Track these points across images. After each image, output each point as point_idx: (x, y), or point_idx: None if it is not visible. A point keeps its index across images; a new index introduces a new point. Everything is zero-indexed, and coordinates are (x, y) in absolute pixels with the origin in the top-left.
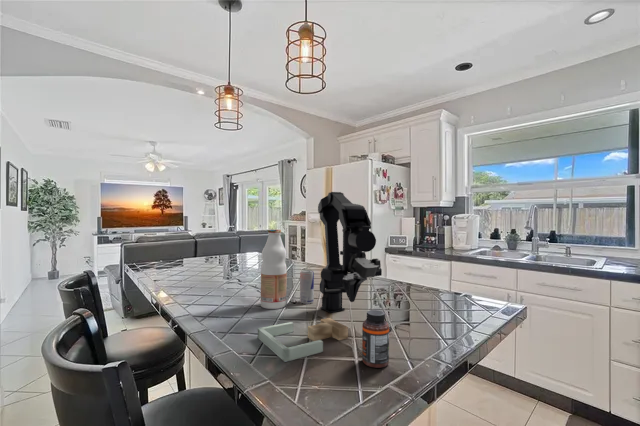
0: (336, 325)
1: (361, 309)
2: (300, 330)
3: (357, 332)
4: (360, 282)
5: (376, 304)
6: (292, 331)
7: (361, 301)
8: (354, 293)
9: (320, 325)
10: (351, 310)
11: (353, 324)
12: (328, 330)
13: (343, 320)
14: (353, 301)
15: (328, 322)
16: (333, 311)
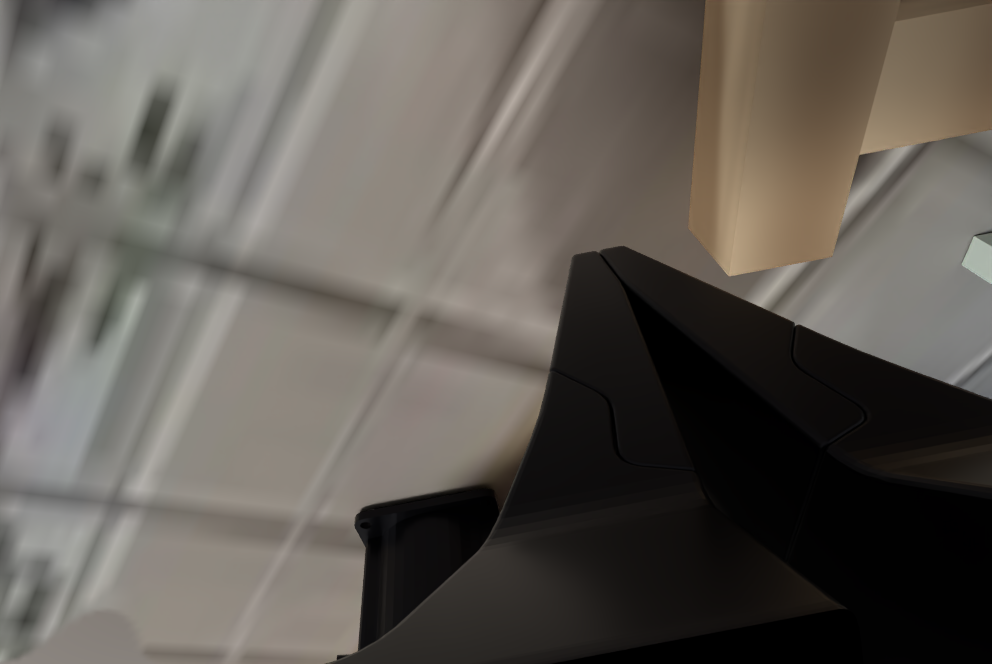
0: (850, 11)
1: (207, 510)
2: (906, 250)
3: (510, 13)
4: (600, 548)
5: (31, 573)
6: (986, 237)
7: (149, 624)
8: (636, 325)
9: (978, 90)
10: (301, 505)
11: (433, 240)
12: (919, 3)
13: (471, 347)
14: (587, 254)
15: (837, 151)
16: (464, 497)
